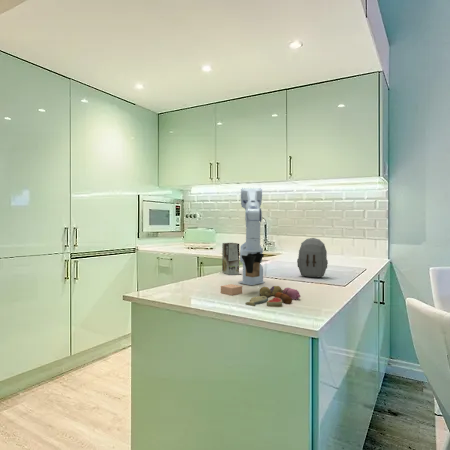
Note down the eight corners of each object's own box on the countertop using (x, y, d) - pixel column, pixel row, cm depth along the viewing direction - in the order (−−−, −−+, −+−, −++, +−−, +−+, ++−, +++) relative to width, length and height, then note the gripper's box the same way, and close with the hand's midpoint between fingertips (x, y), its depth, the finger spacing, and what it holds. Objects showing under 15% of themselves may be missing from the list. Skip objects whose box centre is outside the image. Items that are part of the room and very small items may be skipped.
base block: (231, 291, 143) (231, 284, 143) (242, 293, 139) (242, 286, 139) (220, 293, 139) (220, 286, 139) (231, 296, 135) (231, 288, 135)
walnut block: (251, 275, 144) (252, 261, 144) (259, 276, 142) (259, 262, 141) (245, 276, 142) (245, 262, 141) (253, 277, 139) (253, 263, 139)
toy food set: (264, 292, 144) (264, 282, 144) (304, 295, 138) (305, 285, 138) (244, 306, 120) (244, 294, 120) (291, 312, 114) (292, 299, 114)
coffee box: (239, 274, 184) (239, 243, 184) (228, 275, 182) (228, 243, 181) (232, 271, 193) (233, 242, 192) (221, 272, 190) (222, 242, 190)
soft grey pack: (328, 277, 179) (329, 238, 178) (325, 279, 171) (326, 238, 171) (298, 274, 185) (299, 236, 185) (295, 277, 177) (295, 237, 177)
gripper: (252, 237, 150) (252, 269, 150) (235, 238, 137) (234, 273, 137) (267, 237, 146) (267, 270, 146) (251, 239, 133) (250, 275, 134)
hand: (252, 272), depth 142 cm, fingers closed on walnut block, 5 cm apart
